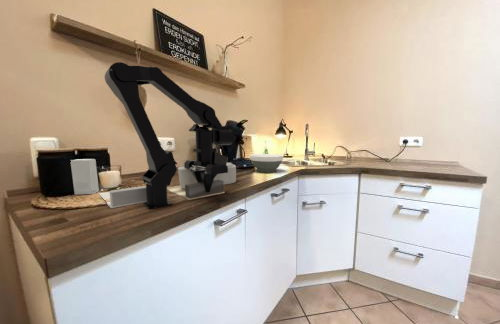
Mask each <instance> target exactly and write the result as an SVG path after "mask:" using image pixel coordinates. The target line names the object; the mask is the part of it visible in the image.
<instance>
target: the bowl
mask: <svg viewBox="0 0 500 324" xmlns="http://www.w3.org/2000/svg"><path fill="white" fill-rule="evenodd" d="M249 159H250V161H251V164H252V165H253V167H254V168H256V171H257V172H259V173H265V174H266V173H275V172H276V171H277V169H279V168H280V165H281V164H282V162H283V160H284V155H283V154H279V153H253V154H249Z"/></svg>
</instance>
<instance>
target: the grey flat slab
mask: <svg viewBox="0 0 500 324" xmlns="http://www.w3.org/2000/svg"><path fill="white" fill-rule="evenodd" d="M98 195H99V197H100V198H101V199H102V198H103V199H104V200H106V199H109V198H110V202H107V203H106V205H107V206H108V207H109V208H110V209H115V208H120V207H126V206H130V205H131V206H132V205H136V204H143V202H147V199H146V185H142V186H134V187H127V188H121V189H120V188H119V189H113V190H109V191H106V192H98ZM103 199H102V200H103ZM104 200H103V201H104Z"/></svg>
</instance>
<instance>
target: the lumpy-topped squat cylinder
mask: <svg viewBox="0 0 500 324" xmlns="http://www.w3.org/2000/svg"><path fill="white" fill-rule="evenodd" d="M226 165H227V166H228V173H222V174H217V175H216V176H215V178H214V180H222V181H224V185H231V184H233V183H236V182H237V166H236V165H235V164H233V163H232V162H228V161H227V164H226Z"/></svg>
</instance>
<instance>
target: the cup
mask: <svg viewBox="0 0 500 324" xmlns="http://www.w3.org/2000/svg"><path fill="white" fill-rule="evenodd" d="M190 170H192V168H190V169H186V168H185V167H184V165H182V166H179V167H177V173H178V174H177V175H178V180H179V186H181V188H182V189H185V185H187V184H193V183H197V181H196V179H195V178H194V176H193V174H192V172H190Z"/></svg>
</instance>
